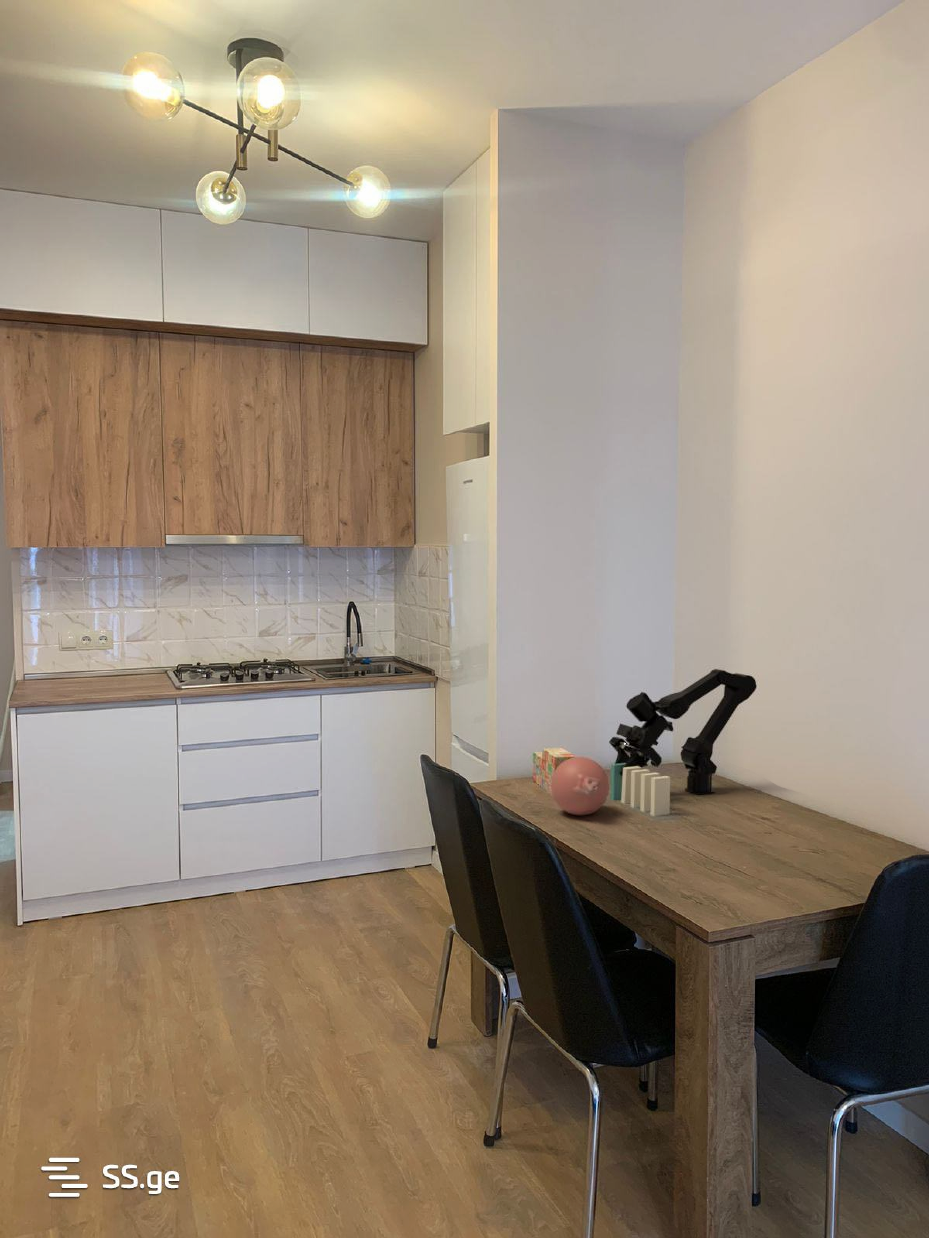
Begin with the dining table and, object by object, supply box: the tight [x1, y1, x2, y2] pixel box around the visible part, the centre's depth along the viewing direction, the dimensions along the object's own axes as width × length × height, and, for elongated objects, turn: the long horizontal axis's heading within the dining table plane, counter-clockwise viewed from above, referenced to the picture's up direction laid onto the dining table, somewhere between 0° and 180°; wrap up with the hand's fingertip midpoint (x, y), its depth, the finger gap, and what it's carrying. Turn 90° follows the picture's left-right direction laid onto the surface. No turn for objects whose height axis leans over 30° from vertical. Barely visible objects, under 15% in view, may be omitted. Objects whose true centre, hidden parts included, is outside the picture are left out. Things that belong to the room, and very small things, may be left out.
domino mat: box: [608, 800, 682, 821], centre depth 256 cm, size 8×27×1 cm, turn 25°
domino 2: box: [631, 768, 651, 808], centre depth 256 cm, size 2×5×10 cm, turn 116°
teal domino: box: [609, 763, 626, 800], centre depth 264 cm, size 2×5×10 cm, turn 115°
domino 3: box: [640, 772, 661, 812], centre depth 252 cm, size 2×5×10 cm, turn 115°
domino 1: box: [621, 766, 642, 804], centre depth 259 cm, size 2×5×10 cm, turn 115°
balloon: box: [551, 756, 610, 816], centre depth 246 cm, size 15×20×15 cm
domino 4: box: [650, 775, 671, 816], centre depth 248 cm, size 2×5×10 cm, turn 116°
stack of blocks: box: [532, 747, 576, 797], centre depth 276 cm, size 21×6×12 cm, turn 13°
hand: (617, 773), depth 263 cm, fingers open, 3 cm apart
